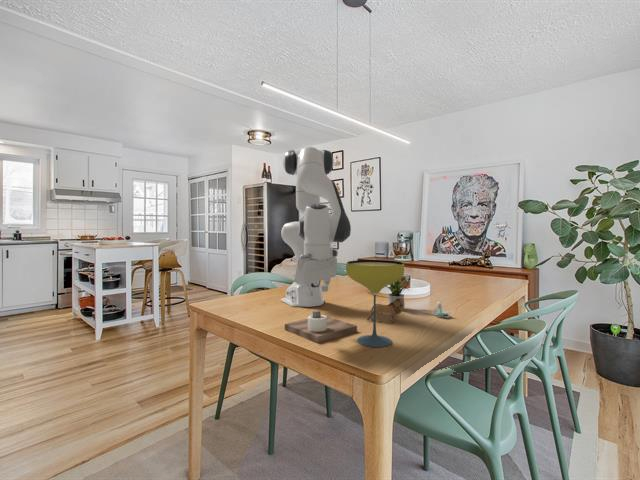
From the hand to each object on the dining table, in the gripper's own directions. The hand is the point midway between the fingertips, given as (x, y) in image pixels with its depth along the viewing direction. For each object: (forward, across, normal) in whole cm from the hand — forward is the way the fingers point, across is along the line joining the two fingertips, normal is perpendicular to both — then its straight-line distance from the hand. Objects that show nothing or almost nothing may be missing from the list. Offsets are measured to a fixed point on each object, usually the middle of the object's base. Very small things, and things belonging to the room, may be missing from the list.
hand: (317, 293), depth 110 cm
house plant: (+15, +47, -11) cm, 51 cm away
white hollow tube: (+12, 0, 0) cm, 12 cm away
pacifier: (+15, +47, -30) cm, 58 cm away
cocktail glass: (+14, +4, -19) cm, 24 cm away
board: (+14, +4, +1) cm, 15 cm away
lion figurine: (+14, +28, -14) cm, 34 cm away
